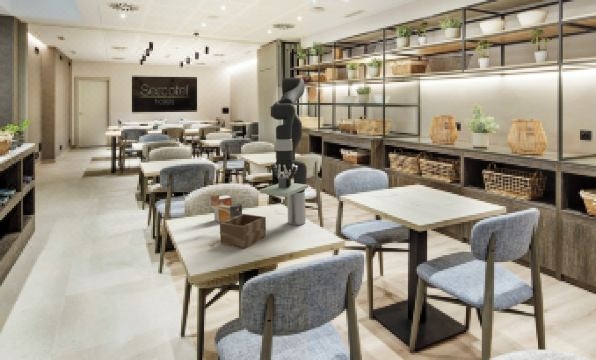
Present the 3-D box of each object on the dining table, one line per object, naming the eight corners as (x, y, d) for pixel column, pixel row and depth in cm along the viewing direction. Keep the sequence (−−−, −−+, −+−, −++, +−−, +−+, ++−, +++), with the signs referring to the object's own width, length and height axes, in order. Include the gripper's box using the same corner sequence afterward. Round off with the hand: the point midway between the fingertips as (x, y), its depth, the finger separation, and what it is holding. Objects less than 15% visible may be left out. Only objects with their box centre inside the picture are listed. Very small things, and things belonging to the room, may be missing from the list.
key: (215, 206, 214) (214, 194, 213) (239, 210, 207) (238, 197, 205) (211, 208, 211) (210, 195, 210) (235, 211, 204) (234, 198, 203)
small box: (218, 222, 227) (217, 199, 225) (214, 220, 232) (213, 196, 230) (232, 220, 232) (231, 197, 229) (227, 217, 237) (227, 194, 234)
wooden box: (238, 232, 211) (237, 203, 208) (266, 237, 203) (265, 207, 200) (215, 243, 196) (213, 212, 193) (243, 248, 188) (242, 217, 185)
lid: (282, 187, 204) (282, 172, 202) (308, 189, 197) (308, 175, 196) (260, 195, 188) (259, 179, 186) (287, 198, 181) (287, 182, 179)
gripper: (302, 148, 188) (302, 186, 192) (275, 147, 195) (276, 183, 198) (293, 150, 182) (294, 190, 185) (266, 149, 189) (267, 187, 192)
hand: (284, 186), depth 192 cm, fingers closed on lid, 3 cm apart
